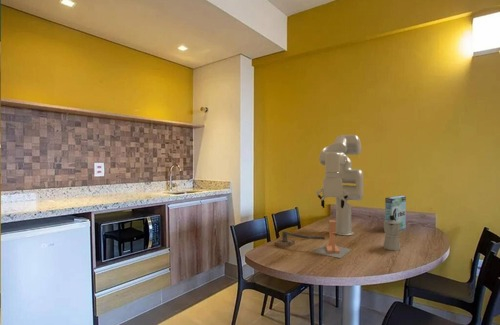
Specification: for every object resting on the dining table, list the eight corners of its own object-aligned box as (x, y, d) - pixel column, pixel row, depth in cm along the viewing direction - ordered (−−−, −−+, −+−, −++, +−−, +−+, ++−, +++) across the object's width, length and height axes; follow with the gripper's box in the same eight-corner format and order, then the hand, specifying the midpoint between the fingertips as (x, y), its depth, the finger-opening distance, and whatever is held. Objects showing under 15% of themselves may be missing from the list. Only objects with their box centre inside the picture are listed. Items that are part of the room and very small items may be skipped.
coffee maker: (400, 252, 149) (400, 218, 149) (381, 250, 154) (382, 216, 154) (401, 245, 163) (401, 213, 162) (384, 243, 167) (384, 212, 167)
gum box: (399, 227, 206) (399, 195, 205) (406, 228, 202) (406, 196, 201) (384, 231, 194) (384, 197, 194) (391, 232, 190) (392, 198, 190)
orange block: (325, 246, 159) (325, 218, 158) (336, 247, 158) (336, 219, 158) (327, 252, 148) (327, 223, 148) (339, 253, 147) (339, 223, 147)
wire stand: (284, 241, 169) (284, 229, 169) (325, 250, 153) (325, 236, 153) (274, 245, 161) (274, 232, 161) (317, 255, 145) (317, 240, 145)
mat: (325, 244, 163) (325, 244, 163) (351, 250, 154) (351, 249, 154) (312, 252, 150) (312, 251, 150) (340, 258, 141) (340, 257, 141)
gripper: (348, 174, 155) (348, 206, 155) (315, 174, 157) (315, 206, 158) (351, 176, 147) (351, 209, 148) (316, 176, 150) (316, 208, 150)
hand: (332, 207), depth 153 cm, fingers open, 9 cm apart
